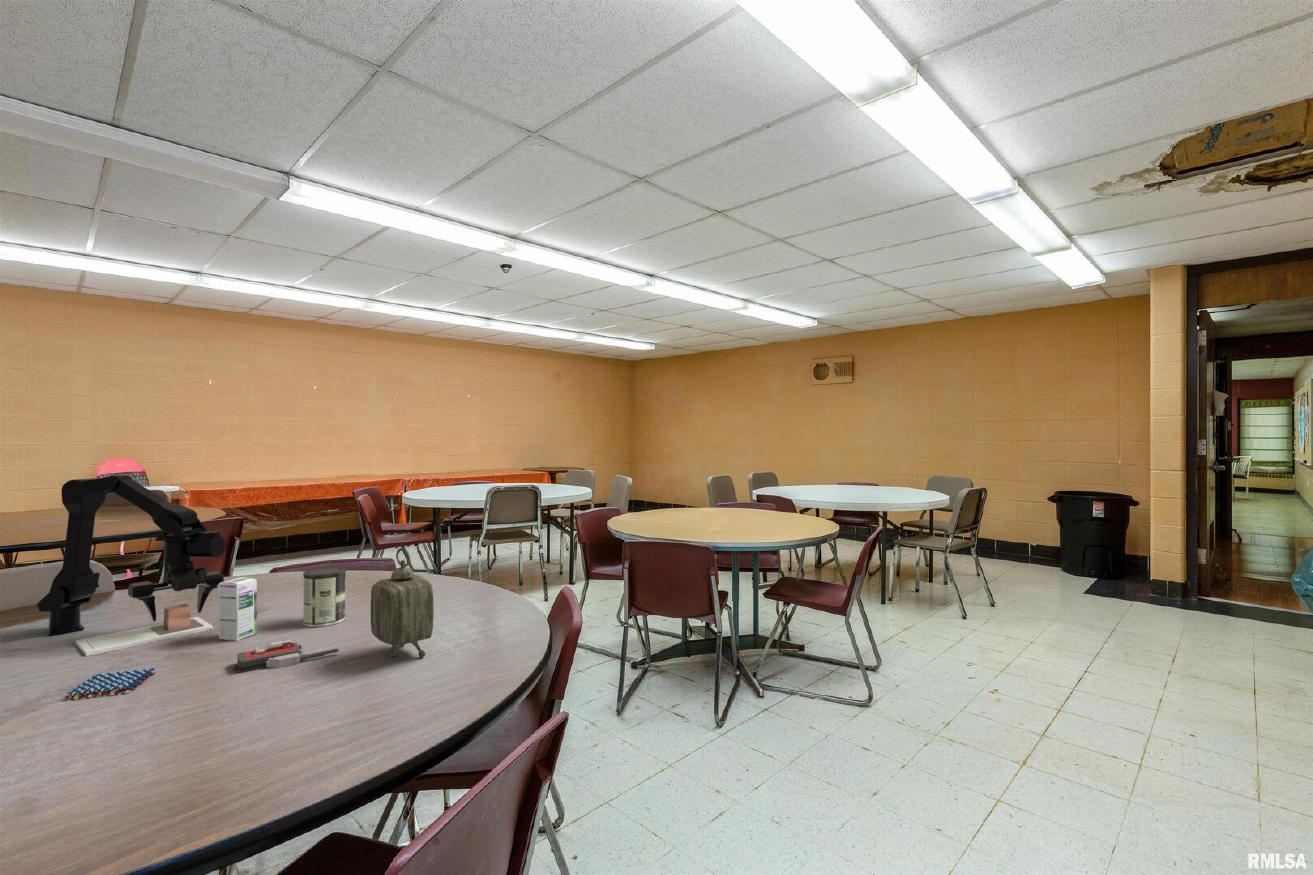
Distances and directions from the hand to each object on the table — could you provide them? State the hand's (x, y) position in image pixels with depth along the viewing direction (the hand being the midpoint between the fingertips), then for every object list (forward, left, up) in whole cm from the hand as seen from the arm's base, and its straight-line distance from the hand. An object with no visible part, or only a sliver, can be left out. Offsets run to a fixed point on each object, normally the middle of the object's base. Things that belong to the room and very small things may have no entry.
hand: (177, 616), depth 150 cm
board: (0, -6, -4) cm, 7 cm away
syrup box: (+18, +8, -4) cm, 20 cm away
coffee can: (+22, +27, -4) cm, 35 cm away
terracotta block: (0, 0, -2) cm, 2 cm away
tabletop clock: (+62, +27, -4) cm, 68 cm away
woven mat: (+33, -18, -4) cm, 38 cm away
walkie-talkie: (+45, +9, -4) cm, 46 cm away
